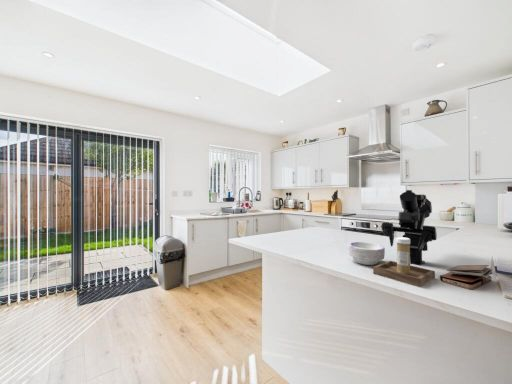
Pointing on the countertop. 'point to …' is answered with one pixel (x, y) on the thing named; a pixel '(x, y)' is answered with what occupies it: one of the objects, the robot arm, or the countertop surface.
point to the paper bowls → (366, 252)
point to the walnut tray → (414, 278)
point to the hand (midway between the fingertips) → (404, 247)
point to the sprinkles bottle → (403, 255)
